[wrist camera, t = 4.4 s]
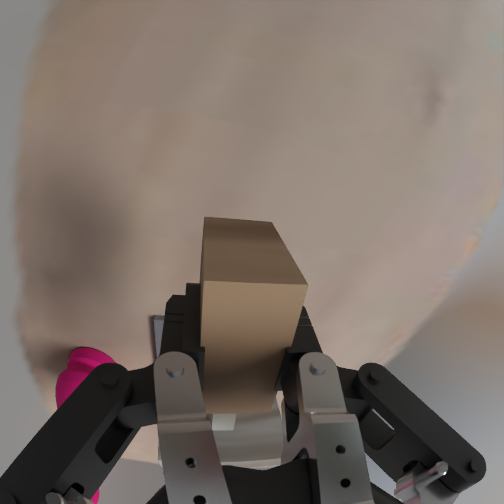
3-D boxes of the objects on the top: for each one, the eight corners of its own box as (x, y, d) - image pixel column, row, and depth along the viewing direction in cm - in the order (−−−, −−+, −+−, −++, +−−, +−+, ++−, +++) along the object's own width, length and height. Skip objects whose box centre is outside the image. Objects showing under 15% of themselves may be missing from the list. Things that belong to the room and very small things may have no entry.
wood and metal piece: (153, 213, 12) (123, 275, 7) (317, 226, 13) (371, 285, 8) (163, 398, 17) (159, 466, 12) (271, 399, 18) (287, 463, 13)
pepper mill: (61, 363, 29) (24, 508, 12) (76, 333, 27) (28, 507, 10) (111, 389, 32) (93, 532, 15) (132, 363, 30) (114, 535, 12)
